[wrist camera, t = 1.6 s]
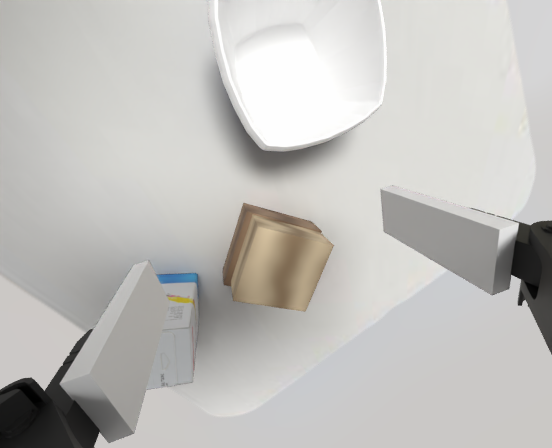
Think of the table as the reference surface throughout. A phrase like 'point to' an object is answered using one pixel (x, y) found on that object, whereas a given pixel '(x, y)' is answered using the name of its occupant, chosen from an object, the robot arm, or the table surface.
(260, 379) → the table surface
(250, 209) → the tower base
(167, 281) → the ink box
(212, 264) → the table surface
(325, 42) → the bowl
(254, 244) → the tower top
